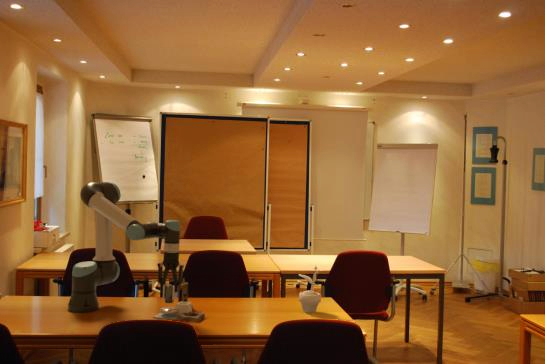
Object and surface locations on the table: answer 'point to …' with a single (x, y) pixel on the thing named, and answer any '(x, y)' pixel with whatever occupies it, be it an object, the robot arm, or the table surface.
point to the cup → (184, 307)
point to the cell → (169, 293)
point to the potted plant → (310, 296)
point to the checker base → (166, 316)
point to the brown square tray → (191, 316)
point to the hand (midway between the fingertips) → (169, 298)
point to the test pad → (169, 310)
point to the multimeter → (183, 291)
